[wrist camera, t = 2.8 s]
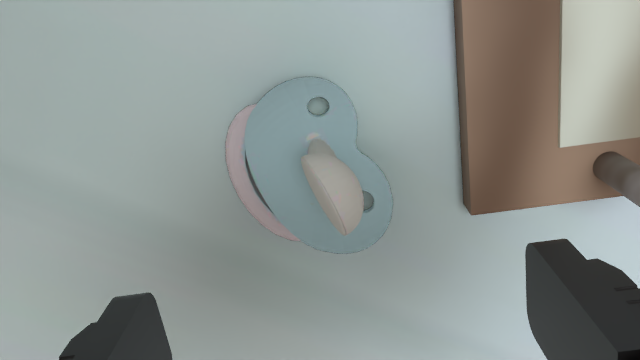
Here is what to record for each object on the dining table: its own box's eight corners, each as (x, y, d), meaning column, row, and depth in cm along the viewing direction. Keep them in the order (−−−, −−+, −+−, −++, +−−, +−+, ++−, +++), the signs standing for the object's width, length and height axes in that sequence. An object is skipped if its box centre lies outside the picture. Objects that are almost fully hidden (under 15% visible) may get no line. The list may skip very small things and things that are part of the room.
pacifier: (278, 257, 25) (401, 206, 24) (262, 347, 19) (425, 284, 18) (198, 114, 22) (331, 51, 21) (151, 165, 16) (331, 81, 15)
